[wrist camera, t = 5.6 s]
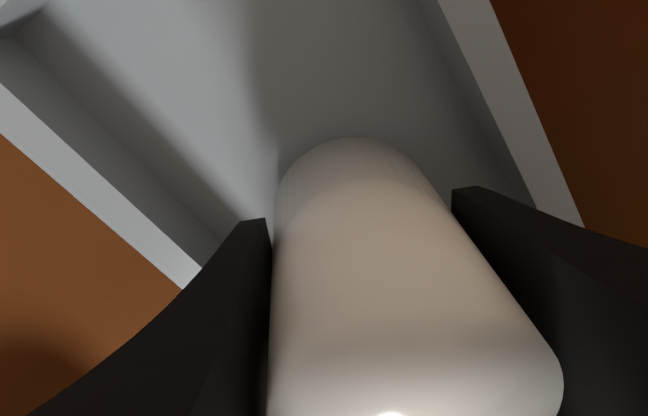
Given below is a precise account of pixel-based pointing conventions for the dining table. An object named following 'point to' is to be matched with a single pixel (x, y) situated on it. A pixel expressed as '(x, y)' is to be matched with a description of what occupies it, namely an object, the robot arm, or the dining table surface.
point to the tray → (259, 106)
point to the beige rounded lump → (391, 300)
